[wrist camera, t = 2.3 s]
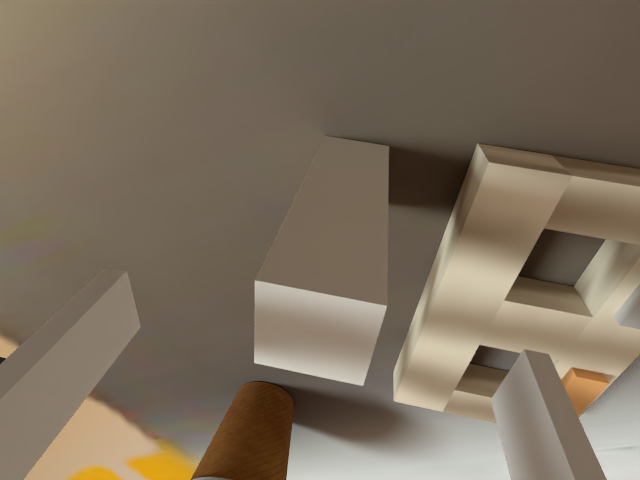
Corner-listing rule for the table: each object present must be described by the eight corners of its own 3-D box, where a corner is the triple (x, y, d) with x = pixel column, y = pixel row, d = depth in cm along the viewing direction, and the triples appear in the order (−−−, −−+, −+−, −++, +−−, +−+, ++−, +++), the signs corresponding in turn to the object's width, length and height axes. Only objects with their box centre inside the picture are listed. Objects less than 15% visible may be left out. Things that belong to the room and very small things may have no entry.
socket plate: (477, 143, 21) (492, 168, 18) (731, 183, 20) (794, 217, 17) (393, 371, 34) (393, 409, 30) (547, 403, 33) (564, 446, 29)
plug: (324, 135, 22) (254, 280, 11) (389, 145, 22) (386, 305, 11) (317, 192, 25) (254, 363, 13) (376, 203, 24) (362, 385, 13)
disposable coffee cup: (214, 368, 38) (152, 498, 28) (301, 373, 36) (267, 514, 26) (237, 420, 43) (191, 544, 33) (314, 426, 41) (290, 561, 31)
